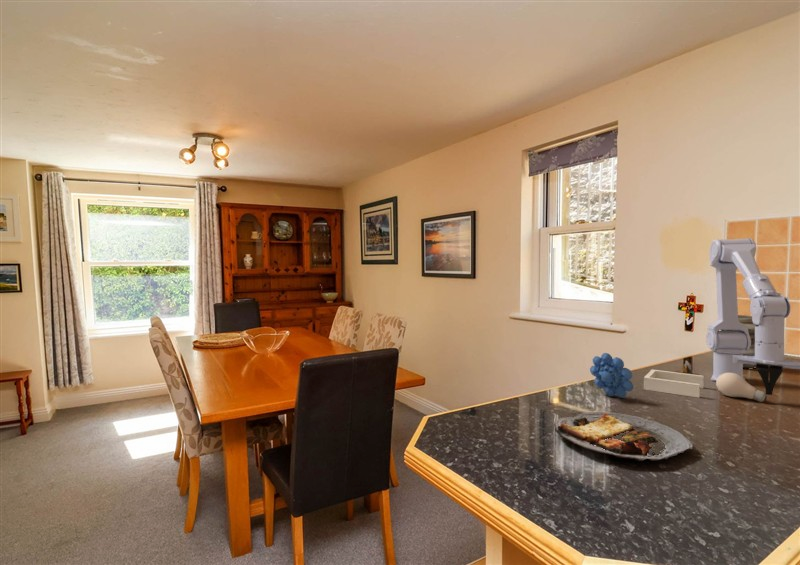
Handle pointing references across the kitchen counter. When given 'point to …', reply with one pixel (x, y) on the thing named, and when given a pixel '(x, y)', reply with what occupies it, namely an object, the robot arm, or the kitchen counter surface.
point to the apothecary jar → (751, 329)
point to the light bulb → (738, 387)
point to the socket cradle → (674, 383)
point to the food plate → (607, 425)
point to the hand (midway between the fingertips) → (768, 393)
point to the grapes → (611, 375)
